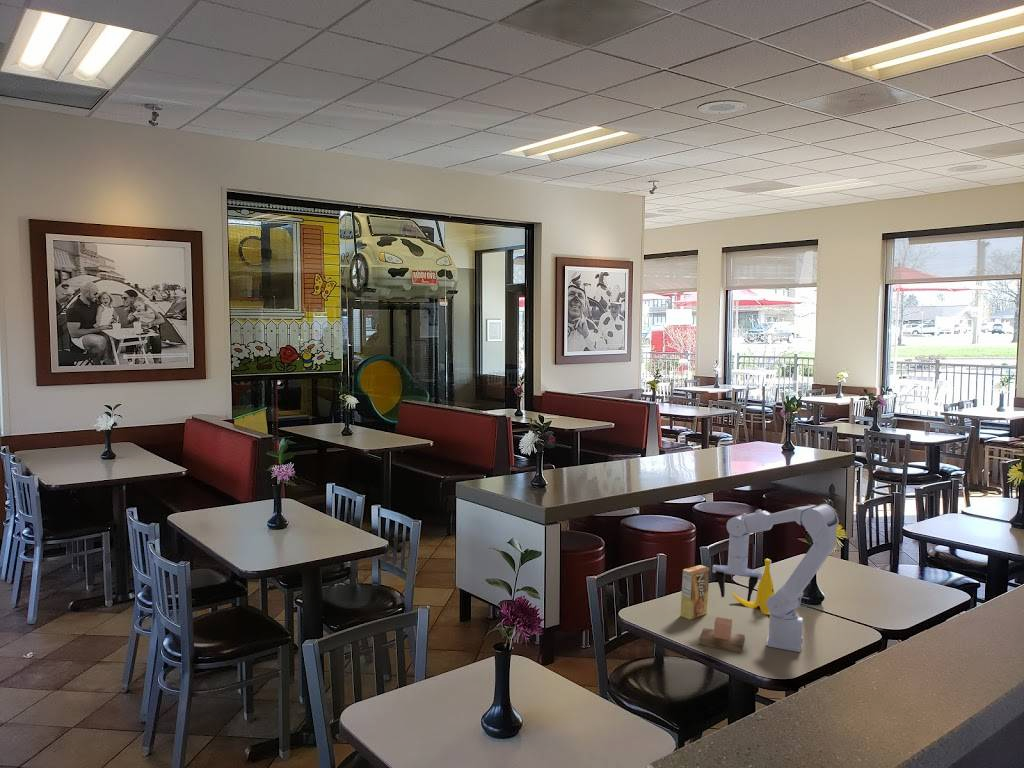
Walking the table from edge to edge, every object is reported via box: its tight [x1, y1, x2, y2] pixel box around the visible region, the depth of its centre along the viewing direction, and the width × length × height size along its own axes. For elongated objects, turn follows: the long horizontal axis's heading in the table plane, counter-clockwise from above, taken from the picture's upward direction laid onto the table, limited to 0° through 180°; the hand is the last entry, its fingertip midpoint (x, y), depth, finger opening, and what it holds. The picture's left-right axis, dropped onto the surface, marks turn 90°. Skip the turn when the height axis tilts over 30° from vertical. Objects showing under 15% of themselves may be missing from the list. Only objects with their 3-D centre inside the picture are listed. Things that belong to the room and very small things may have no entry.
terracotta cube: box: [713, 616, 733, 640], centre depth 225 cm, size 4×4×4 cm
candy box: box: [679, 564, 711, 620], centre depth 245 cm, size 9×4×15 cm, turn 129°
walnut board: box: [698, 627, 746, 653], centre depth 225 cm, size 12×8×2 cm, turn 68°
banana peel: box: [731, 558, 775, 616], centre depth 254 cm, size 17×19×17 cm
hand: (735, 598), depth 235 cm, fingers open, 7 cm apart
